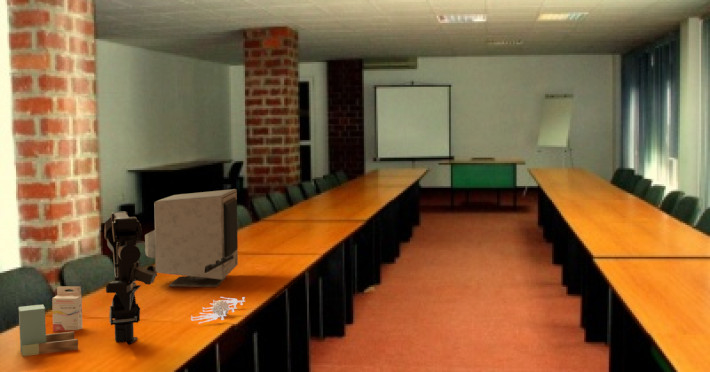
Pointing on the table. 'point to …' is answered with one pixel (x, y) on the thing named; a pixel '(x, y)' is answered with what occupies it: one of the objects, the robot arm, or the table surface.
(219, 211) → the crt monitor
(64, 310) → the ink cartridge box
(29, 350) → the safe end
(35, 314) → the block
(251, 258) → the table surface
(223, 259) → the molecule model
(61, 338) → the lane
